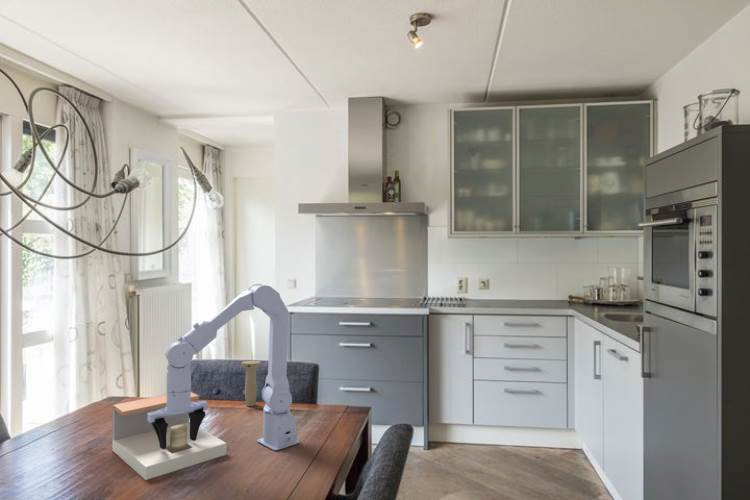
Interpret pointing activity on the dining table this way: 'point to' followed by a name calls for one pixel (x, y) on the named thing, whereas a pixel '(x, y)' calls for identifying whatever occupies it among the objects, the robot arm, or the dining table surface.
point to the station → (142, 444)
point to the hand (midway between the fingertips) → (178, 443)
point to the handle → (250, 381)
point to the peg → (178, 438)
